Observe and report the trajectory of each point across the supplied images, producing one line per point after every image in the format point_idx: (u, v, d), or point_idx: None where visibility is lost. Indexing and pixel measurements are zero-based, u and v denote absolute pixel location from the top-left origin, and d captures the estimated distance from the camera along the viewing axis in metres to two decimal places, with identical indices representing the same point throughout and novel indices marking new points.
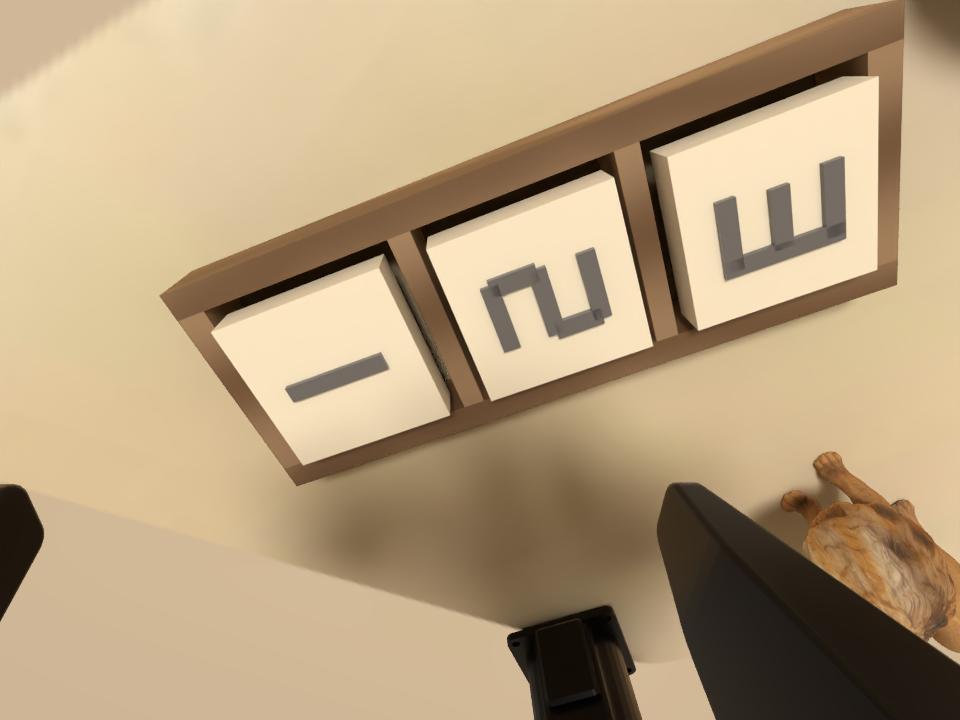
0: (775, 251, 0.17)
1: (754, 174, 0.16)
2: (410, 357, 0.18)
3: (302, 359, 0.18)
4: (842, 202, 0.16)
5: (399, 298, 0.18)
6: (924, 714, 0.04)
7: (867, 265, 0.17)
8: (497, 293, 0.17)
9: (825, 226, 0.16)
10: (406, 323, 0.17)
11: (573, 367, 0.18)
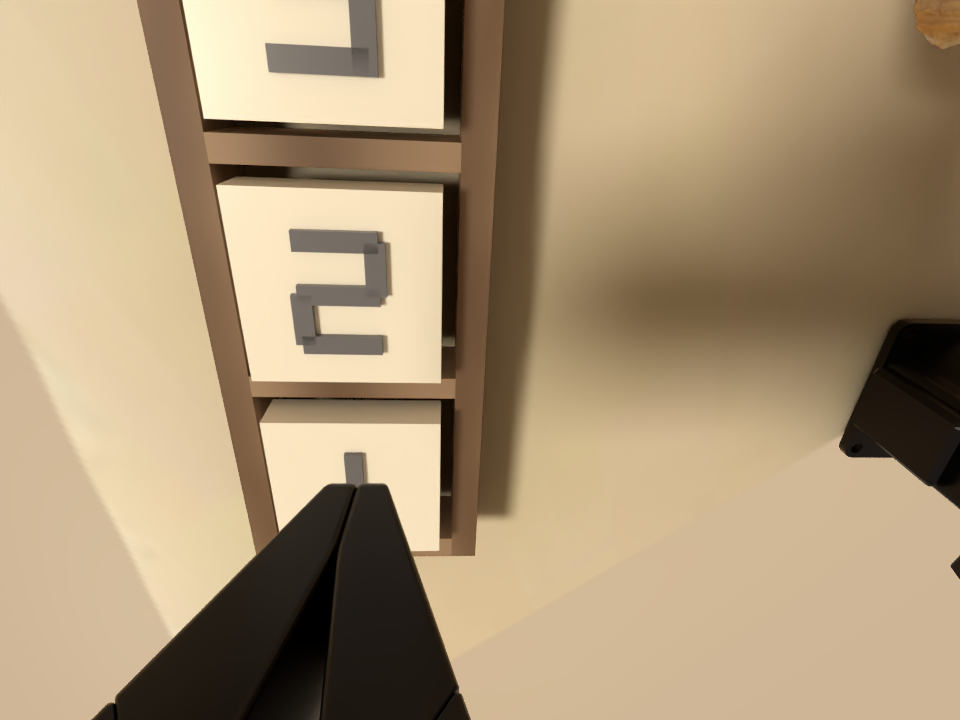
0: None
1: (246, 7, 0.12)
2: (359, 432, 0.18)
3: None
4: None
5: (308, 411, 0.18)
6: None
7: None
8: (312, 339, 0.16)
9: None
10: (324, 421, 0.18)
11: (433, 291, 0.16)
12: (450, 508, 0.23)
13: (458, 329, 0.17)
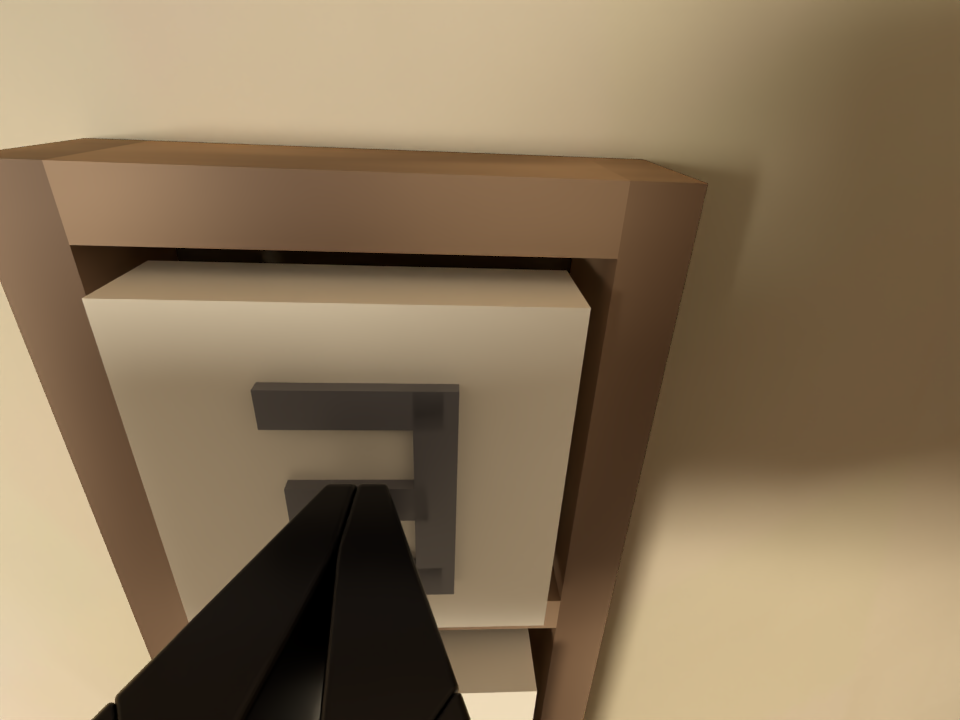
0: (428, 520, 0.08)
1: (256, 526, 0.08)
2: None
3: None
4: (364, 392, 0.07)
5: None
6: None
7: (565, 329, 0.07)
8: None
9: (410, 428, 0.07)
10: None
11: None
12: None
13: None
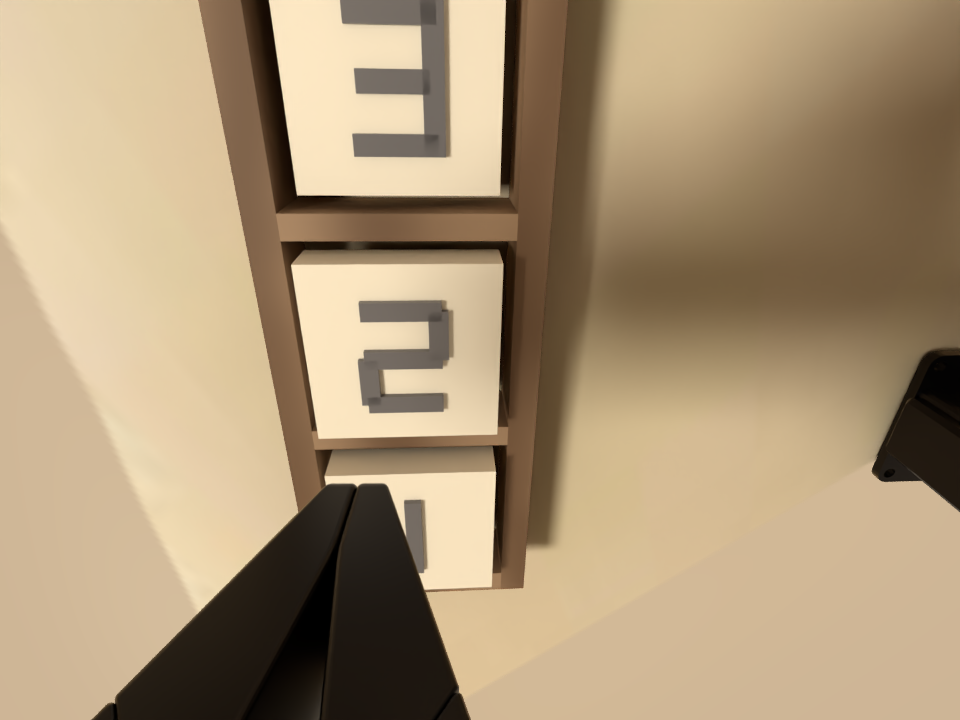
0: (430, 94, 0.14)
1: (336, 105, 0.14)
2: (418, 481, 0.19)
3: None
4: None
5: (368, 461, 0.19)
6: None
7: None
8: (377, 399, 0.17)
9: (419, 24, 0.13)
10: (385, 472, 0.18)
11: (492, 351, 0.16)
12: (496, 541, 0.24)
13: (511, 382, 0.18)
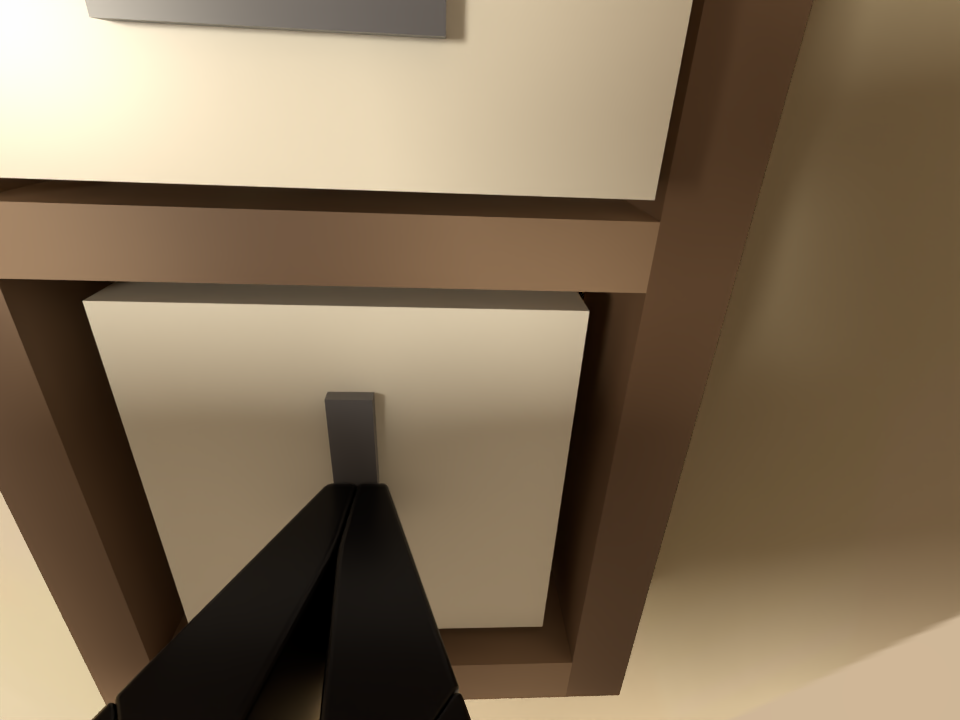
0: None
1: None
2: (367, 334, 0.06)
3: None
4: None
5: None
6: None
7: None
8: None
9: None
10: (269, 301, 0.06)
11: None
12: (552, 579, 0.11)
13: (708, 12, 0.05)
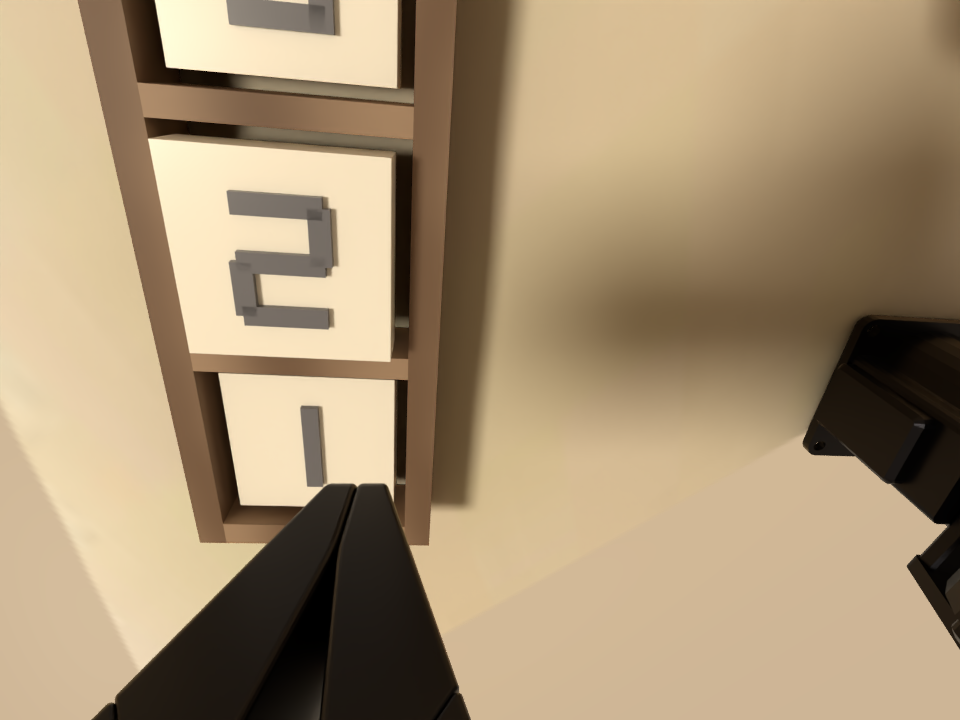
0: None
1: None
2: (316, 386, 0.18)
3: (286, 461, 0.20)
4: None
5: None
6: None
7: None
8: (253, 310, 0.15)
9: None
10: None
11: (382, 263, 0.15)
12: None
13: (411, 306, 0.17)
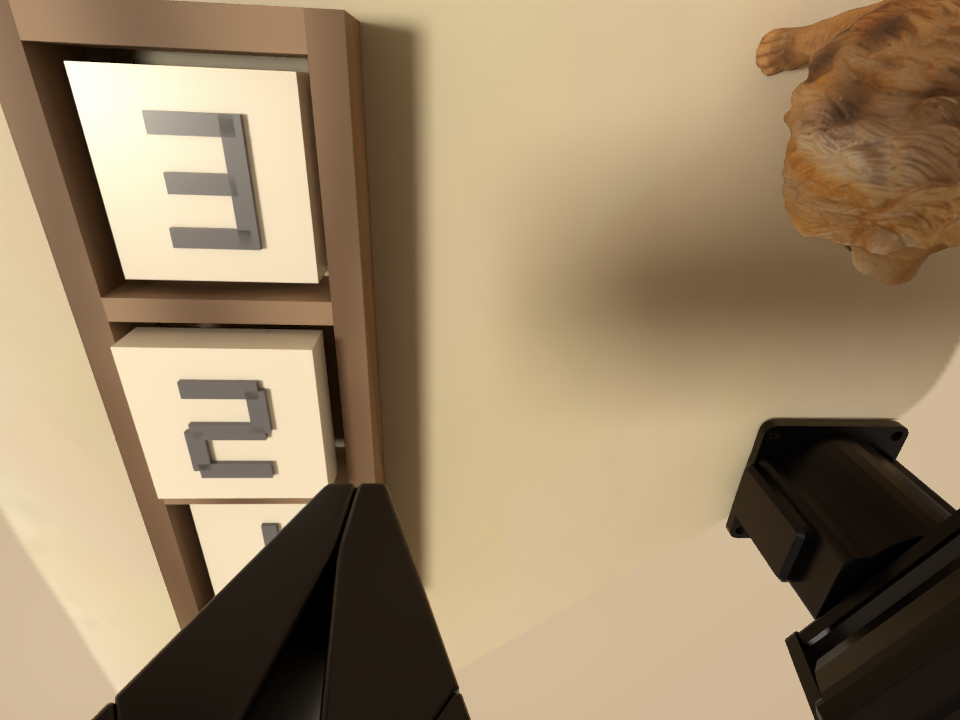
0: (238, 196, 0.15)
1: (153, 202, 0.15)
2: (273, 507, 0.21)
3: None
4: (195, 114, 0.14)
5: None
6: None
7: (287, 84, 0.14)
8: (207, 466, 0.18)
9: (220, 136, 0.15)
10: None
11: (314, 425, 0.17)
12: None
13: (346, 448, 0.19)
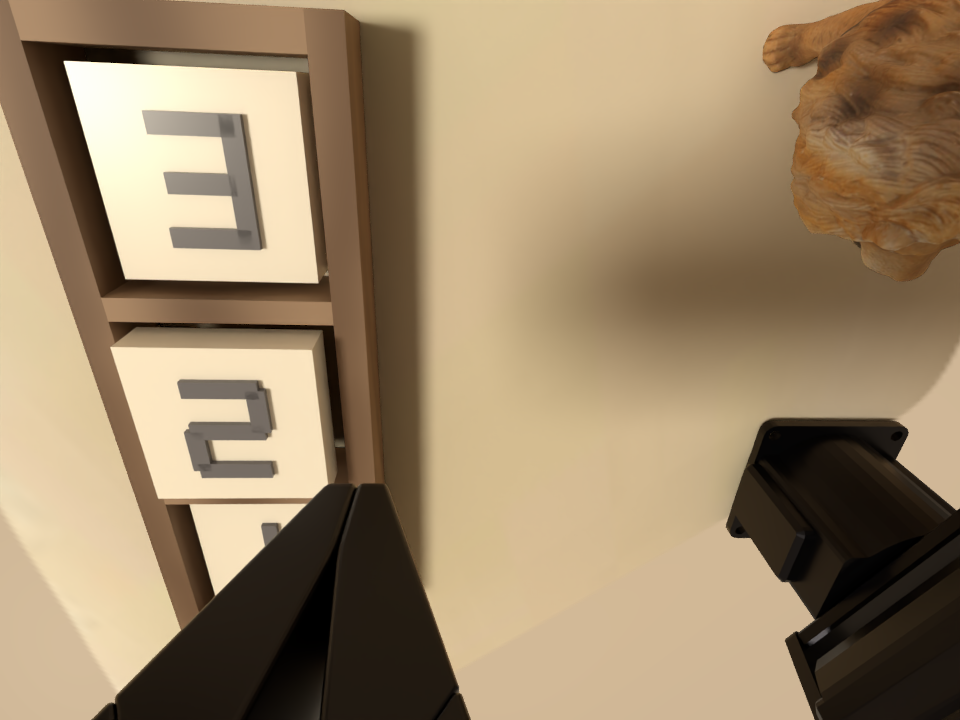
0: (238, 196, 0.15)
1: (153, 202, 0.15)
2: (273, 507, 0.21)
3: None
4: (195, 114, 0.14)
5: None
6: None
7: (287, 84, 0.14)
8: (207, 466, 0.18)
9: (220, 136, 0.15)
10: None
11: (314, 425, 0.17)
12: None
13: (346, 448, 0.19)
